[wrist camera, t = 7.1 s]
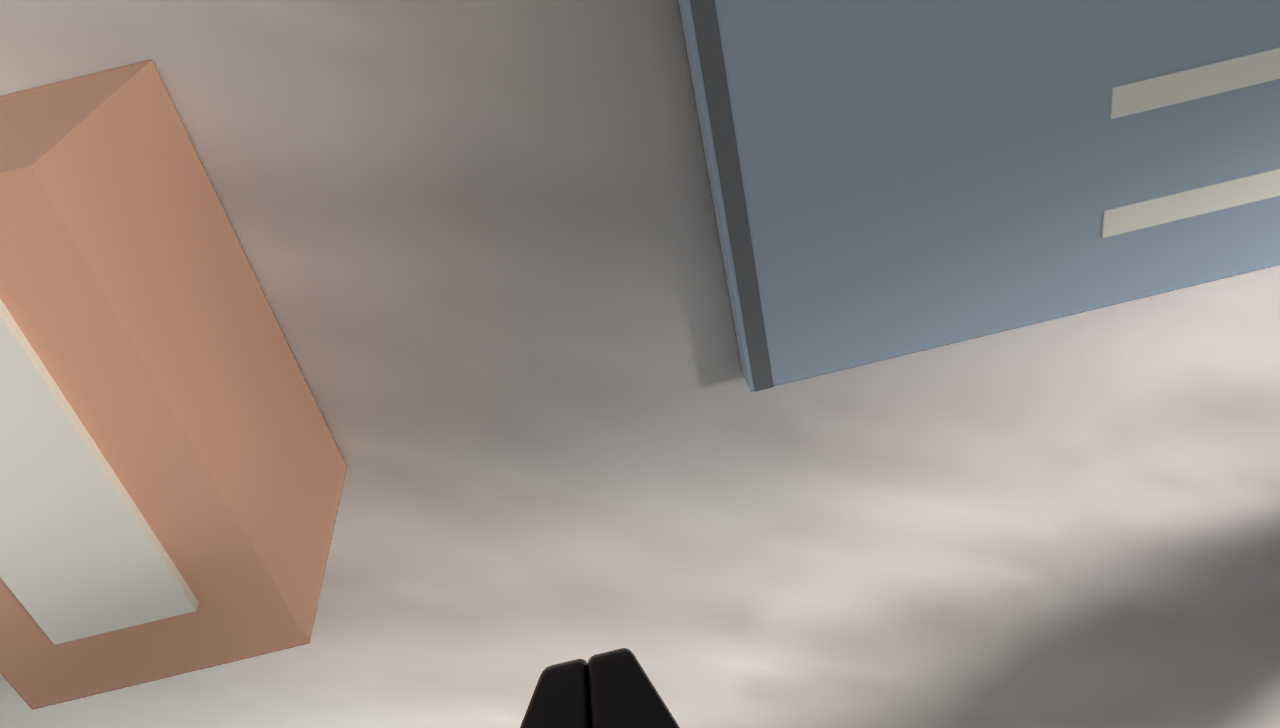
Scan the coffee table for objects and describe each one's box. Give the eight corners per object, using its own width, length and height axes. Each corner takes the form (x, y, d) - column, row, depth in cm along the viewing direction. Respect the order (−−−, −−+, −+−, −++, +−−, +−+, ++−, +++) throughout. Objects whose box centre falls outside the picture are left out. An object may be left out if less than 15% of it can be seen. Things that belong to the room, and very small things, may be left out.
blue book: (1483, -263, 16) (1528, -264, 15) (1369, 221, 21) (1399, 237, 20) (666, -65, 16) (674, -57, 15) (742, 371, 21) (750, 392, 20)
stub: (151, 59, 16) (24, 172, 12) (346, 466, 21) (307, 652, 17) (-137, 129, 16) (-371, 267, 12) (124, 519, 21) (27, 718, 17)
